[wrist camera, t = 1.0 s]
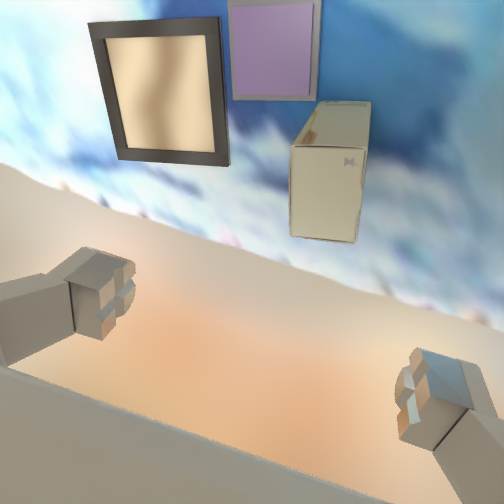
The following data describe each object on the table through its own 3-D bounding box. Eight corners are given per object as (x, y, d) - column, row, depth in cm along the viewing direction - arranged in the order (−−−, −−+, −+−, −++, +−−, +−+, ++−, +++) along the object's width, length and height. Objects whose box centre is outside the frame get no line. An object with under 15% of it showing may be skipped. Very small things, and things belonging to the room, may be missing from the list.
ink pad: (323, -5, 27) (320, -6, 25) (317, 99, 30) (314, 102, 29) (231, 0, 28) (225, -1, 27) (236, 98, 32) (230, 101, 31)
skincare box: (318, 99, 30) (288, 138, 20) (373, 100, 29) (370, 141, 19) (314, 175, 34) (286, 239, 24) (363, 178, 33) (356, 246, 23)
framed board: (220, 16, 29) (217, 16, 29) (230, 164, 35) (227, 166, 35) (92, 22, 32) (87, 22, 32) (122, 157, 39) (118, 159, 38)
